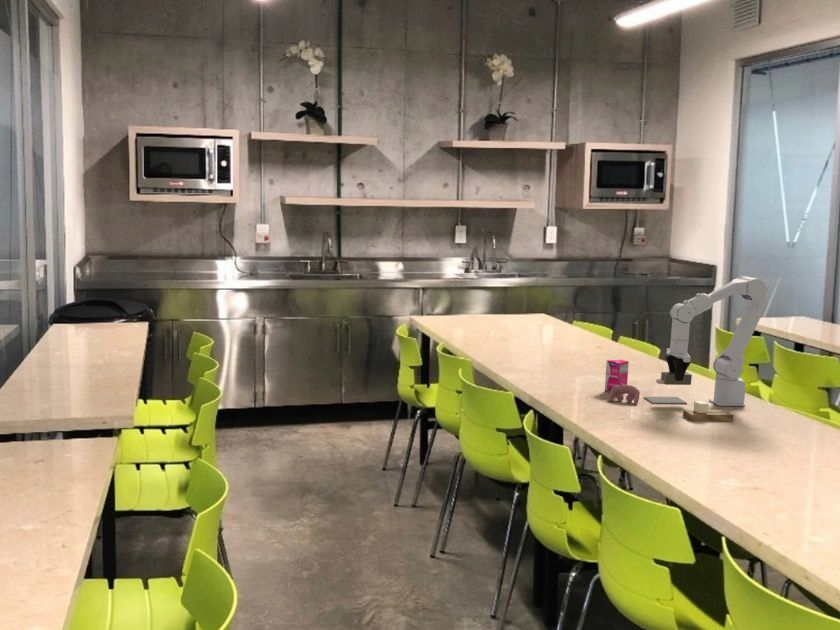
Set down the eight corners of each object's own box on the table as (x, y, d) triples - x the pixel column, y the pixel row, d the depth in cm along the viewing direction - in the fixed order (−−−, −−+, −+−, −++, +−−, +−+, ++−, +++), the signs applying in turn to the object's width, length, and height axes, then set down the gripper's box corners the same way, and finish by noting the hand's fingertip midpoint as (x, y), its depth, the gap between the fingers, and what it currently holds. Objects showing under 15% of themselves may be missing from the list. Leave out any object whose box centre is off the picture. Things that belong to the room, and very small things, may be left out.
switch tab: (702, 410, 270) (703, 401, 269) (707, 413, 266) (708, 403, 266) (693, 410, 269) (694, 400, 269) (698, 413, 266) (699, 403, 265)
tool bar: (685, 382, 288) (686, 372, 288) (690, 384, 284) (691, 374, 284) (655, 381, 287) (655, 371, 286) (659, 384, 283) (660, 374, 282)
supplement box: (603, 391, 301) (605, 359, 299) (613, 389, 305) (615, 358, 303) (617, 394, 297) (619, 362, 295) (627, 392, 300) (629, 360, 299)
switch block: (724, 415, 272) (724, 409, 272) (733, 420, 266) (733, 414, 266) (682, 415, 271) (683, 409, 270) (690, 420, 265) (691, 414, 264)
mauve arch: (638, 407, 285) (641, 387, 287) (637, 404, 281) (640, 384, 283) (609, 404, 289) (612, 384, 291) (607, 400, 285) (610, 380, 287)
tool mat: (676, 398, 294) (677, 396, 294) (686, 404, 286) (686, 402, 286) (643, 398, 293) (644, 396, 293) (652, 403, 285) (652, 402, 285)
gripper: (659, 335, 290) (656, 374, 292) (677, 343, 276) (674, 383, 278) (679, 335, 291) (675, 374, 293) (697, 343, 277) (694, 383, 279)
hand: (676, 379), depth 285 cm, fingers closed on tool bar, 4 cm apart
